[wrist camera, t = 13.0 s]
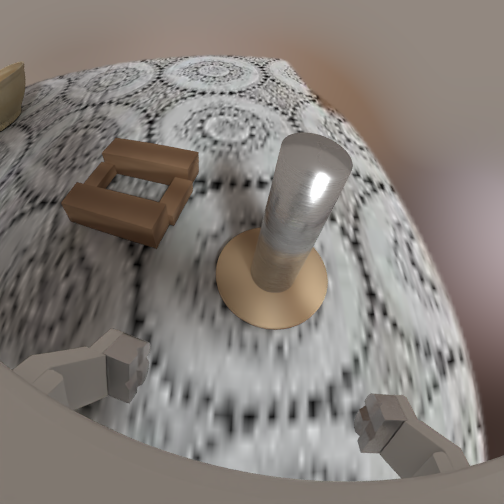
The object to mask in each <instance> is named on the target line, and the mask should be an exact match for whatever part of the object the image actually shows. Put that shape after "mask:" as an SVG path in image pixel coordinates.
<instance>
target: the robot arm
mask: <svg viewBox="0 0 504 504" xmlns="http://www.w3.org/2000/svg"><path fill="white" fill-rule="evenodd" d="M149 353H150V343H149V342H147V341H144V340H141V339H139V338H136V337H134V336H131V335H129V334H127V333H124V332H121V331H119V330H116V329H114V328H113V329H110V330H109V331H107V332H106V333H105V334H104V335H103V336H102V337H101V338H100V339H99V340H97V341H96V342H95V343H94V344H93V345H92V346H91V347H90V348H89V347H86V346H85V347H80V348H74V349H68V350H62V351H56V352H50V353H44V354H37V355H31V356H30V357H29V358H27V359H26V360H25V361H23V362H22V363H21V364H20V365H18V366H17V367H16V368H15V369H13V370H11V369H10V368H8V367H7V366H6V365H5V364H3V363H2V362H1V361H0V504H504V456H502V457H499V458H496V459H493V460H489V461H486V462H483V463H479V464H476V465H472V466H470V465H469V463H468V461H467V459H466V457H465V456H464V454H463V452H462V450H461V448H459V447H458V446H457V445H455V444H454V443H452V442H451V441H449V440H448V439H446V438H445V437H444V436H442V435H441V434H439V433H438V432H436V431H435V430H434V429H432V428H431V427H429V426H428V425H427V424H425V423H424V422H422V421H418V419H417V417H416V415H415V413H414V411H413V409H412V407H411V405H410V404H409V402H408V400H407V398H406V397H405V396H404V395H383V394H372V393H370V394H369V395H368V396H367V398H366V399H365V406H364V407H363V408H361V409H359V411H358V413H357V415H356V417H355V421H354V429H355V432H356V433H357V434H358V435H359V436H360V437H359V439H358V444H359V448H360V452H361V453H380V455H381V456H382V457H383V459H384V460H385V461H386V462H387V463H388V464H389V465H390V466H391V468H392V469H393V470H394V471H395V472H396V473H397V474H398V475H399V476H400V478H401V479H392V480H379V481H314V480H300V479H290V478H281V477H273V476H266V475H260V474H254V473H248V472H243V471H238V470H233V469H228V468H224V467H219V466H215V465H211V464H207V463H203V462H199V461H196V460H192V459H189V458H186V457H182V456H179V455H176V454H173V453H170V452H167V451H164V450H161V449H158V448H155V447H152V446H150V445H147V444H144V443H142V442H139V441H137V440H134V439H132V438H130V437H127V436H125V435H123V434H120V433H118V432H116V431H114V430H111V429H109V428H107V427H105V426H103V425H101V424H99V423H97V422H95V421H93V420H91V419H89V418H87V417H85V416H83V415H81V414H79V413H78V412H76V411H74V410H76V409H78V408H81V407H83V406H85V405H88V404H90V403H93V402H95V401H97V400H100V399H102V398H105V397H107V396H108V395H109V396H112V397H114V398H117V399H119V400H121V401H124V402H127V403H129V404H130V402H131V401H132V399H133V398H134V396H135V395H136V393H137V387H138V386H141V385H142V384H143V382H144V381H145V379H146V376H147V374H148V369H149V361H148V359H147V356H148V354H149Z"/></svg>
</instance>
